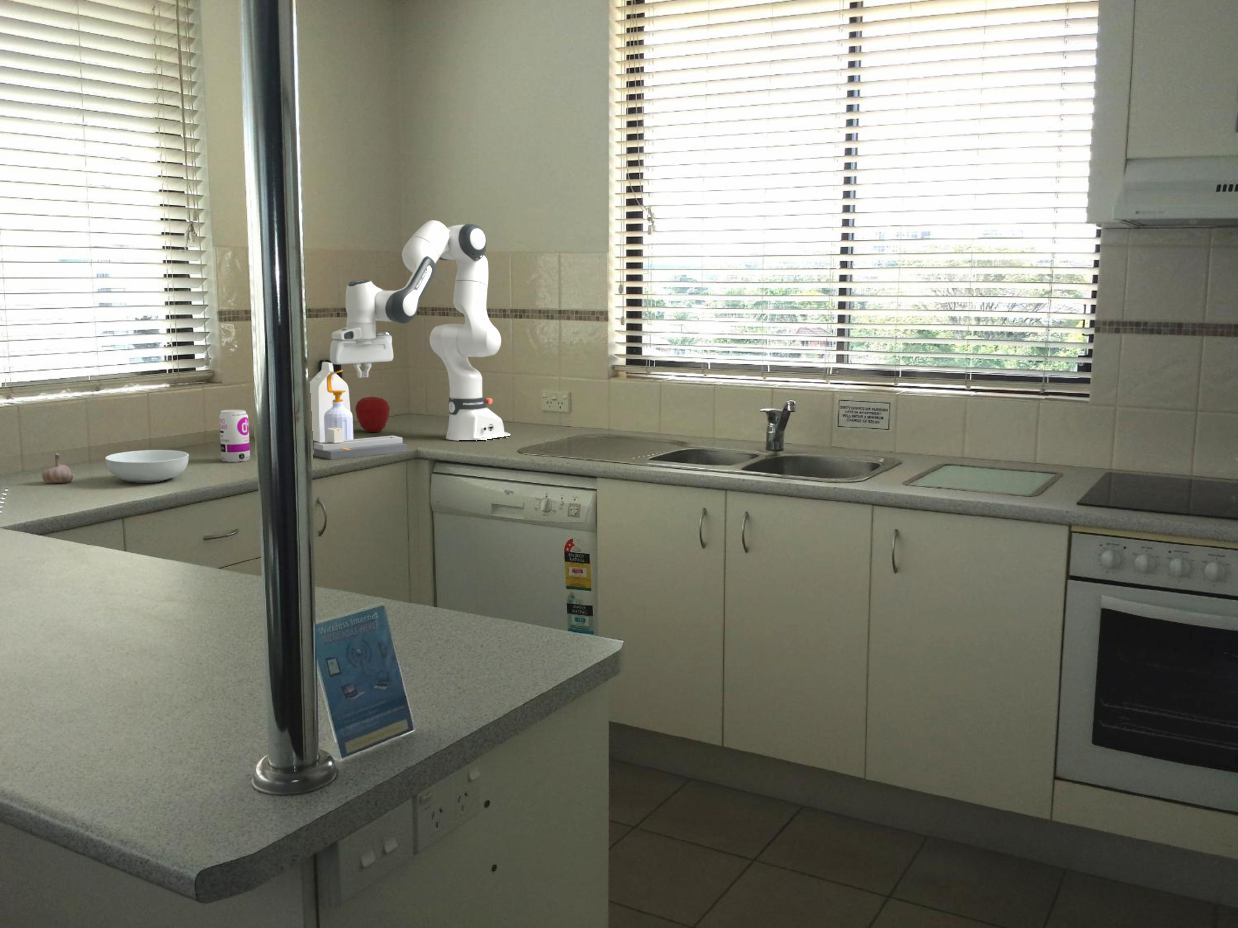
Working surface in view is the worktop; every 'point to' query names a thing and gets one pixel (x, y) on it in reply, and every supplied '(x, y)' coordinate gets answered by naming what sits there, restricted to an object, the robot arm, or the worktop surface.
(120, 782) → the worktop surface
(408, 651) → the worktop surface
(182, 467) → the serving bowl
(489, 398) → the robot arm
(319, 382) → the milk
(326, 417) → the soap bottle
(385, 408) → the apple
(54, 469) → the garlic bulb
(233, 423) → the supplement can
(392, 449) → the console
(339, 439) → the white small block
